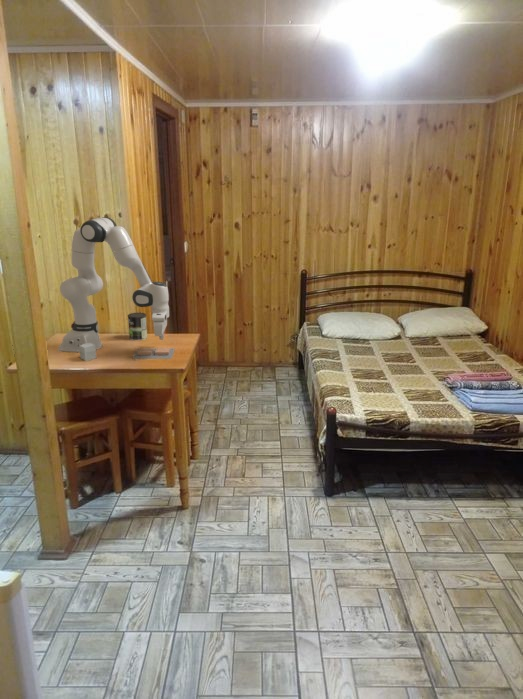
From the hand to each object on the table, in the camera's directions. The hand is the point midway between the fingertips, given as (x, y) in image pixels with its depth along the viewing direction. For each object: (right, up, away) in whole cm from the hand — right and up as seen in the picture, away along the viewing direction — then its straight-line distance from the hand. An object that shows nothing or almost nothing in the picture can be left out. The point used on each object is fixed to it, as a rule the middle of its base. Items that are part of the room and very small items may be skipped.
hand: (161, 338), depth 258 cm
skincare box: (-36, -10, -6) cm, 38 cm away
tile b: (0, -5, +4) cm, 7 cm away
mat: (-4, -8, +1) cm, 9 cm away
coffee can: (-19, +1, +27) cm, 33 cm away
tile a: (-9, -5, +4) cm, 11 cm away
